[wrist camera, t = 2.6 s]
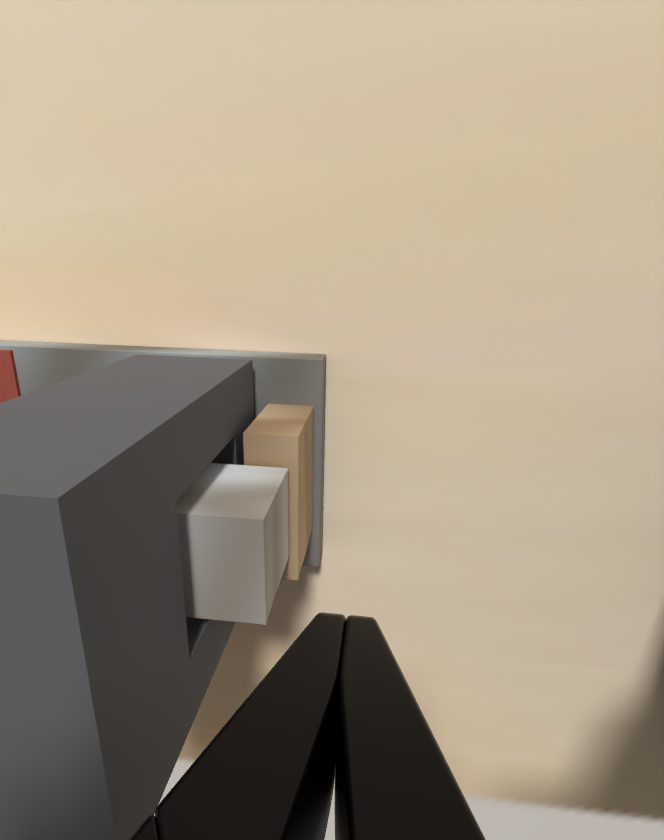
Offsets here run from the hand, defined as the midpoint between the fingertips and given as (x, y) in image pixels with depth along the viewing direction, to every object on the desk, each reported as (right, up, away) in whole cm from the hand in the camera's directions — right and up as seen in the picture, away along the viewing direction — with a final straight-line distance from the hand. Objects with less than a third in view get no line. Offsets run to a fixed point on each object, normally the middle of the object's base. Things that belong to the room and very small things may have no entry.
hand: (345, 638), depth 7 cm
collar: (-4, +2, +6) cm, 7 cm away
